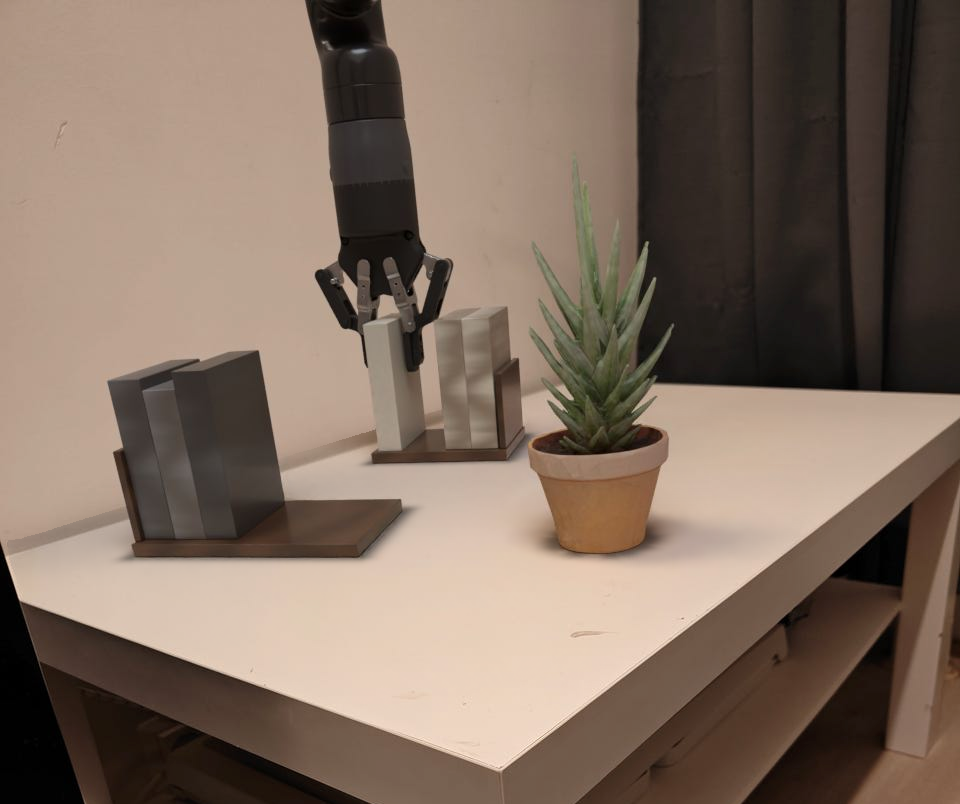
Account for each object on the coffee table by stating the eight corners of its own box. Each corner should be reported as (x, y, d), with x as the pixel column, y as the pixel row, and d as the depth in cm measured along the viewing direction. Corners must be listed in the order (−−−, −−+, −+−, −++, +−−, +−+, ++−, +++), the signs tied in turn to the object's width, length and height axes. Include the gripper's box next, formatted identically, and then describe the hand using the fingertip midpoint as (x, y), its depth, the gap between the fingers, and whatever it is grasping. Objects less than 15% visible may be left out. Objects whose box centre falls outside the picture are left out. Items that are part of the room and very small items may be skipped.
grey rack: (134, 556, 71) (89, 377, 66) (202, 512, 81) (169, 353, 75) (358, 557, 67) (331, 365, 62) (402, 510, 77) (382, 341, 71)
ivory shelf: (372, 463, 92) (354, 325, 87) (401, 439, 101) (387, 312, 96) (506, 460, 89) (497, 317, 84) (525, 435, 98) (517, 304, 92)
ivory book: (378, 451, 92) (362, 324, 87) (404, 430, 100) (391, 313, 95) (401, 451, 92) (386, 323, 87) (426, 430, 99) (413, 311, 94)
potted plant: (565, 514, 72) (550, 157, 62) (685, 523, 68) (690, 142, 58) (507, 557, 65) (479, 157, 54) (639, 571, 60) (636, 140, 50)
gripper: (457, 172, 87) (472, 362, 95) (316, 186, 91) (342, 368, 98) (436, 171, 81) (454, 375, 88) (285, 186, 84) (315, 381, 91)
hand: (395, 370), depth 93 cm, fingers open, 3 cm apart
